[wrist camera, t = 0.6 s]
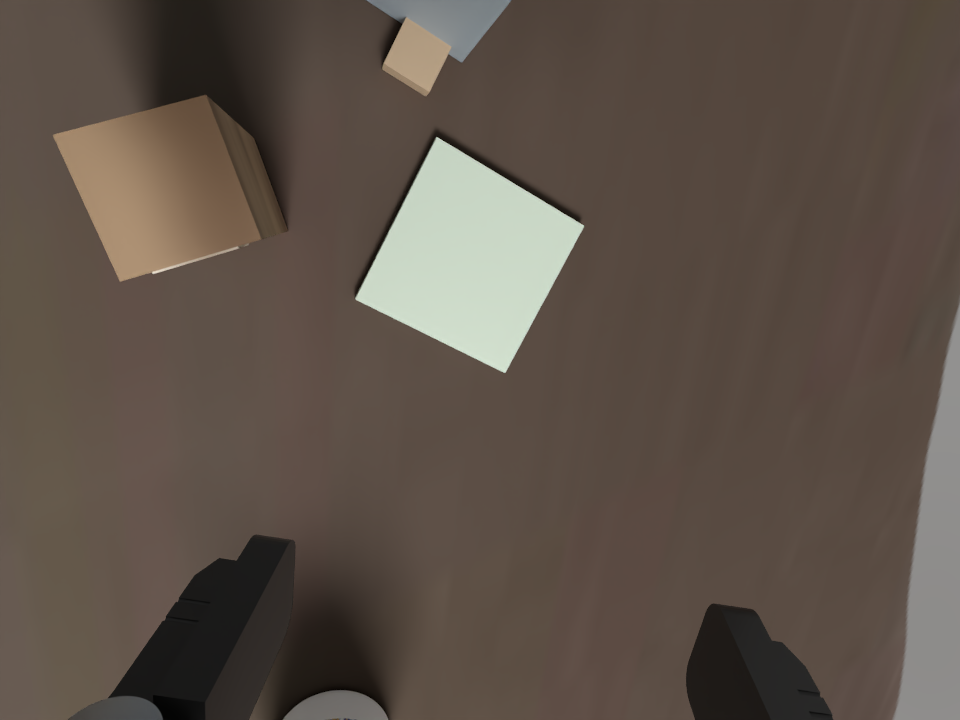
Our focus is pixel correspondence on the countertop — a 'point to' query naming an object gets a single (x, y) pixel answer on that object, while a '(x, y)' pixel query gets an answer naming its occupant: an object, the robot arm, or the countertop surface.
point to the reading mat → (469, 257)
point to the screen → (434, 35)
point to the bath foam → (337, 707)
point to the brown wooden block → (171, 185)
